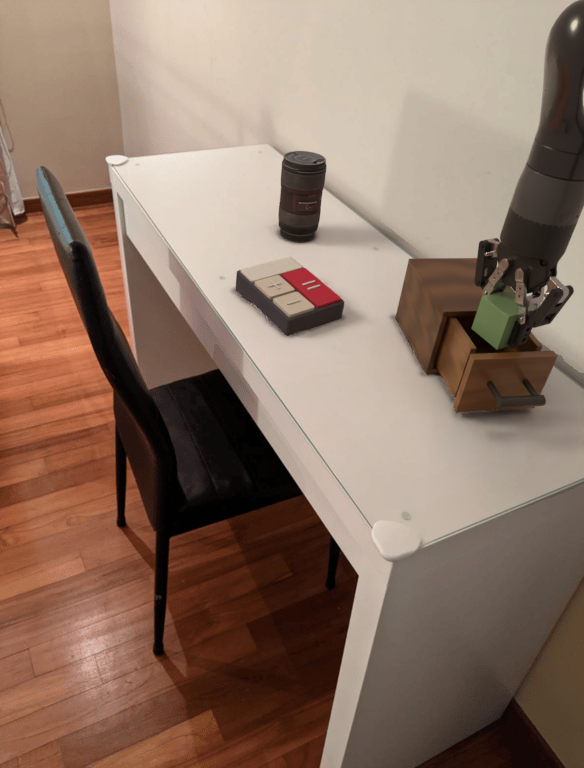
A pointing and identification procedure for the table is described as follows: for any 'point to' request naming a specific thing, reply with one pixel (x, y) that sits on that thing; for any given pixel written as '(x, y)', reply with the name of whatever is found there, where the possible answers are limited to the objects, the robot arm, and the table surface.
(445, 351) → the drawer
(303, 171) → the camera lens
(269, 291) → the calculator
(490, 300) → the block
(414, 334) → the cabinet
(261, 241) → the table surface
